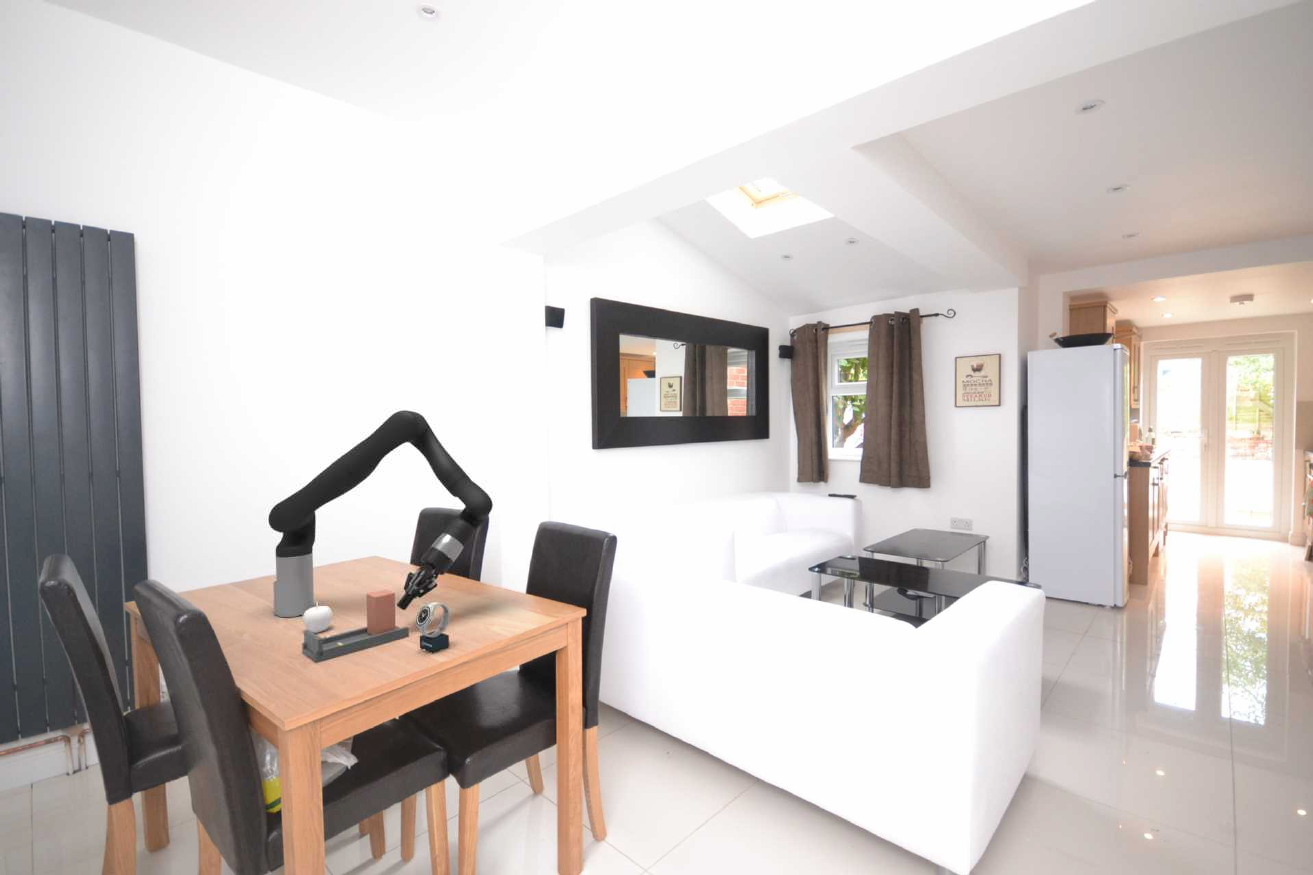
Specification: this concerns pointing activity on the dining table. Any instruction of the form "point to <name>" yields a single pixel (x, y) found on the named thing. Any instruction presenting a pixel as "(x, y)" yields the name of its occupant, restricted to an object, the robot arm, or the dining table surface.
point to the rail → (346, 642)
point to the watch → (436, 638)
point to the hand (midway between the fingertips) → (400, 607)
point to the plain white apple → (317, 618)
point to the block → (380, 612)
